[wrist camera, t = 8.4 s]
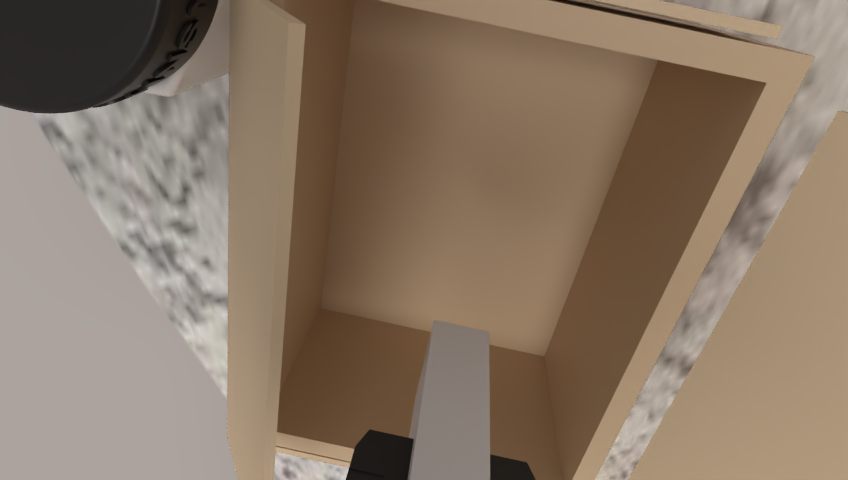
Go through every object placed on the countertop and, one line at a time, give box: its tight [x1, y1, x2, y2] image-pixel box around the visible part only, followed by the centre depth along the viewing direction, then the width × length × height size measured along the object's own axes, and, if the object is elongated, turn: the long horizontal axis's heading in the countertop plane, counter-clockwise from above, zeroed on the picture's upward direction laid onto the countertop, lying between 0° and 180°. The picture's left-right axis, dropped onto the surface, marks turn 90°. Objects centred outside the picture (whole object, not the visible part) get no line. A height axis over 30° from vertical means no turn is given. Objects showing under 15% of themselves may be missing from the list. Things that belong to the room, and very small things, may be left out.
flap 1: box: [227, 0, 306, 480], centre depth 15 cm, size 16×5×1 cm
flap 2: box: [628, 111, 848, 480], centre depth 15 cm, size 16×5×1 cm
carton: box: [269, 0, 815, 480], centre depth 21 cm, size 19×14×9 cm
